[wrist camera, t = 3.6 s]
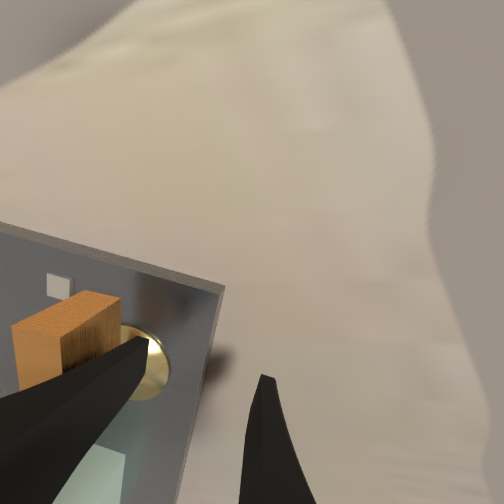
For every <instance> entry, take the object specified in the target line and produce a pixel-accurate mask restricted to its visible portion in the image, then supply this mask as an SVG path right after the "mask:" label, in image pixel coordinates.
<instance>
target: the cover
mask: <svg viewBox="0 0 504 504" xmlns="http://www.w3.org/2000/svg"><path fill="white" fill-rule="evenodd" d="M124 463H125V454H122V453H119V452H116V451H113V450H110V449H107V448H104V447H101V446H99V445H96V444H93V445H92V447H91V448H90V449H89V451H88V452H87V453H86V455H85V456H84V457H83V459H82V460H81V461H80V463H79V464H78V466H77V467H76V469H75V470H74V472H73V473H72V475H71V476H70V478H69V479H68V481H67V482H66V484H65V485H64V487H63V488H62V490H61V491H60V493H59V494H58V496H57V497H56V499H55V500H54V502H53V503H52V504H120V496H121V488H122V480H123V471H124Z"/></svg>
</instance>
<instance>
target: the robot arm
mask: <svg viewBox="0 0 504 504" xmlns="http://www.w3.org/2000/svg"><path fill="white" fill-rule="evenodd" d="M149 342H150V339H147V338H144V337H141V336H136V337H134V338H132V339H130V340H128V341H127V342H125V343H123V344H121V345H119V346H117V347H115V348H114V349H112V350H110V351H108V352H106V353H104V354H102V355H100V356H98V357H96V358H94V359H92V360H90V361H89V362H87V363H84V364H82V365H80V366H78V367H76V368H74V369H72V370H70V371H67V372H65V373H63V374H61V375H59V376H57V377H54V378H52V379H49V380H47V381H45V382H42V383H40V384H37V385H35V386H32V387H30V388H27V389H24V390H22V391H19V392H16V393H13V394H10V395H7V396H5V397H2V398H0V504H52V503H53V502H54V500H55V499H56V497H57V496H58V494H59V493H60V491H61V490H62V488H63V487H64V485H65V484H66V482H67V481H68V479H69V478H70V476H71V475H72V473H73V472H74V470H75V469H76V467H77V466H78V464H79V463H80V461H81V460H82V459H83V457H84V456H85V455H86V453H87V452H88V451H89V449H90V448H91V447H92V445H93V444H94V443H95V442H96V440H97V439H98V438H99V437H100V435H101V434H102V433H103V432H104V430H105V429H106V428H107V426H108V425H109V424H110V423H111V421H112V420H113V419H114V418H115V416H116V415H117V414H118V412H119V411H120V410H121V409H122V407H123V406H124V405H125V404H126V402H127V401H128V400H129V398H130V397H131V396H132V394H133V393H134V391H135V389H136V388H137V386H138V385H139V383H140V381H141V380H142V378H143V377H144V375H145V371H146V364H147V357H148V349H149ZM239 504H316V502H315V500H314V497H313V495H312V493H311V491H310V488H309V486H308V484H307V481H306V479H305V476H304V474H303V471H302V469H301V466H300V464H299V461H298V458H297V456H296V453H295V450H294V447H293V444H292V441H291V438H290V435H289V432H288V429H287V426H286V422H285V419H284V415H283V412H282V408H281V404H280V400H279V395H278V390H277V385H276V380H275V378H272V377H269V376H266V375H263V374H261V376H260V379H259V383H258V386H257V389H256V392H255V395H254V399H253V402H252V405H251V408H250V413H249V418H248V424H247V429H246V435H245V445H244V454H243V465H242V475H241V485H240V495H239Z"/></svg>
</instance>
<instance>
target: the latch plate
mask: <svg viewBox="0 0 504 504" xmlns="http://www.w3.org/2000/svg"><path fill="white" fill-rule="evenodd" d="M224 289H225V286H224V285H221V284H217V283H214V282H210V281H207V280H203V279H200V278H196V277H193V276H189V275H186V274H182V273H179V272H175V271H172V270H168V269H164V268H161V267H157V266H154V265H150V264H147V263H143V262H140V261H136V260H133V259H129V258H126V257H122V256H119V255H115V254H112V253H108V252H105V251H101V250H98V249H94V248H90V247H87V246H83V245H80V244H76V243H73V242H69V241H66V240H62V239H59V238H55V237H52V236H48V235H45V234H41V233H38V232H34V231H31V230H27V229H23V228H20V227H16V226H13V225H9V224H6V223H2V222H0V398H2V397H5V396H7V395H10V394H13V393H16V392H19V391H20V388H19V381H18V373H17V366H16V358H15V351H14V343H13V336H12V328H11V326H12V325H14V324H16V323H18V322H20V321H22V320H24V319H26V318H28V317H30V316H32V315H34V314H36V313H39V312H41V311H43V310H45V309H47V308H49V307H51V306H53V305H55V304H57V303H59V302H61V301H63V300H65V299H67V298H69V297H71V296H73V295H75V294H77V293H79V292H81V291H83V290H88V291H92V292H97V293H101V294H106V295H110V296H114V297H119V298H121V344H123V343H125V342H127V341H128V340H130V339H132V338H134V337H136V336H141V337H144V338H147V339H150V342H149V349H148V357H147V364H146V371H145V375H144V377H143V378H142V380H141V381H140V383H139V385H138V386H137V388H136V389H135V391H134V393H133V394H132V396H131V397H130V398H129V400H128V401H127V402H126V404H125V405H124V406H123V407H122V409H121V410H120V411H119V412H118V414H117V415H116V416H115V418H114V419H113V420H112V421H111V423H110V424H109V425H108V426H107V428H106V429H105V430H104V432H103V433H102V434H101V435H100V437H99V438H98V439H97V440H96V442H95V443H94V444H96V445H99V446H101V447H104V448H107V449H110V450H113V451H116V452H119V453H122V454H125V463H124V471H123V480H122V488H121V496H120V504H176V502H177V498H178V493H179V489H180V484H181V480H182V476H183V471H184V467H185V462H186V458H187V453H188V449H189V445H190V440H191V436H192V431H193V427H194V422H195V418H196V414H197V409H198V405H199V400H200V396H201V391H202V387H203V383H204V378H205V374H206V369H207V365H208V360H209V356H210V352H211V347H212V343H213V338H214V334H215V329H216V325H217V321H218V316H219V312H220V307H221V303H222V298H223V294H224Z"/></svg>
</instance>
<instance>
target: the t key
mask: <svg viewBox="0 0 504 504" xmlns="http://www.w3.org/2000/svg"><path fill="white" fill-rule="evenodd" d="M11 328H12V336H13V343H14V351H15V358H16V366H17V373H18V381H19V388H20V391H22V390H24V389H27V388H30V387H32V386H35V385H37V384H40V383H42V382H45V381H47V380H49V379H52V378H54V377H57V376H59V375H61V374H63V373H65V372H67V371H70V370H72V369H74V368H76V367H78V366H80V365H82V364H84V363H87V362H89V361H90V360H92V359H94V358H96V357H98V356H100V355H102V354H104V353H106V352H108V351H110V350H112V349H114V348H115V347H117V346H119V345H121V298H119V297H114V296H110V295H106V294H101V293H97V292H92V291H88V290H83V291H81V292H79V293H77V294H75V295H73V296H71V297H69V298H67V299H65V300H63V301H61V302H59V303H57V304H55V305H53V306H51V307H49V308H47V309H45V310H43V311H41V312H39V313H36V314H34V315H32V316H30V317H28V318H26V319H24V320H22V321H20V322H18V323H16V324H14V325H12V326H11Z"/></svg>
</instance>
